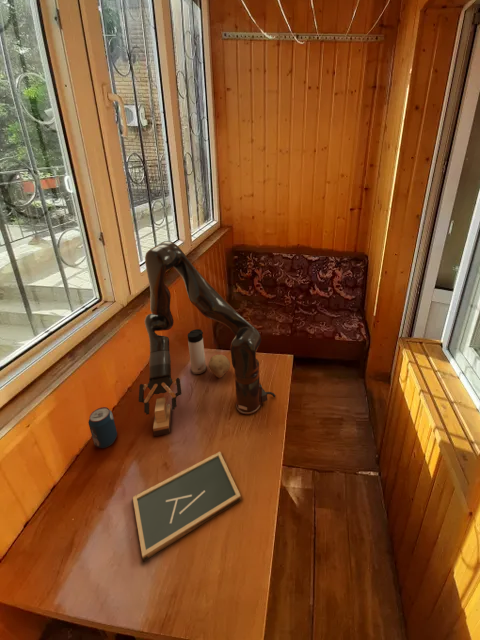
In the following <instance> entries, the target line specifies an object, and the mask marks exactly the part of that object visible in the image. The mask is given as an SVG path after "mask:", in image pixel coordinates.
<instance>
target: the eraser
mask: <svg viewBox="0 0 480 640" xmlns="http://www.w3.org/2000/svg"><path fill="white" fill-rule="evenodd" d="M154 406H155V407H154V418H153V419H154V420H153V425H152V430H153V437H158V436H164V435H168V434H170V433H171V423H172V422H171V420H172V404H171V403H168V404H167V400H166V397H165V396H164V397H159V398H156V399H155V405H154Z"/></svg>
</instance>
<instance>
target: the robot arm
mask: <svg viewBox="0 0 480 640" xmlns="http://www.w3.org/2000/svg"><path fill="white" fill-rule="evenodd" d="M144 263H145V269H146V274H147V280H148V284H149V291H150V299H149V300H150V302H149V306H150V307H149V309H150V312H151V313H148V314H147V315H146V316H145V318H144V326H145V329H146V333H147V336H148V341H149V356H148V357H149V359H148V382H147V383H145V384H143V383H140V384H139V387H138V388H139V389H138V402H139V403H142V404H143V412H144V414H145V415H146V416H147V415H150V401H151V399H152V398H153V397H154V395H156V396H157V395H160V394H166V393H168V394H169V395H170V397H171V411H173V410H175V408H177V398H178V397H179V396H181V395H182V385H181V378H179V377H176V378H173V379H172V360H171V353H170V352H171V351H170V350H171V349H170V338H169V337H168V336H167V335H159V334H157V333H156V332H162V331H163V332H164V331H169V330H171V329H172V328H173V326H174V323H175V322H174V317H173V314H172V311H171V300H172V299H171V298H172V297H171V291H170V289H169V287H168V286H167V285H166V283H165V277H166V273H167V272H168V271H170V270H171V269H172V268H173V269H174V270H176V272H177V273H178V274H179V275H180V277H181V278H182V281H183V282H184V286H185V290H186V294H187V296H188V300H189V301H190V303H191V304H192V305H193V306H194V308H196V310H197V311H198V312H199V313H200V314H201V315H202V316H203V317H205V318H208V319H210V320H213V321H216V322H218V323H220V324H223V325H224V326H226V327H227V328H228V329H229V330H230V331H231V332H232V334H234V338H233V339H232V341H231V343H230V357H231V366H232V367H233V371H234V386H235V387H234V388H235V406H236V410H237V411H238V413H240V414H242V415H252V414H255V413H257V412H258V411H259V409H260V407H262V406H263V403H264V402H267V401H268V395H270V396H272V397H273V398H276V394H275V393H274V392H272V391H266V390H265V389H264V388H263V386H262V384H261V380H260V379H261V378H260V377H261V375H260V362H259V360H258V358H257V351H258V348H259V347H260V345H261V342H262V335H261V333H260V332H259V330H258V329H257V328H256V327H255V326H254V325H253V324H252V323H250V322H249V321H248V320H247V319H246V318H244V317H243V316H242V315H241V314H240V313H239V312H237V310H236V309H235V308H234V307H233V306H232V305H231V304H230V303H229V302H228V301H227V299H225V298H224V296H222V294H221V293H219V291H218V290H216V288H215V287H214V286H213V285H212V284H211V283H210V282H209V281H208V280H207V279H206V278H205V277H204V276H203V275H202V274H201V272H199V270H198V269H197V268H196V266H195V265H194V264H193V263H192V261H190V259H189V258H188V256H187V255H186V254H185V253H184V252H183V250H182V249H181V248H180V247H179V246H178V245H177V244H176V243H174V242H173V241H171V240H164V241H162V242H160V243H158V244H157V245H155V246H153V247H152V248H150V249H148V250H147V251H146V253H145V256H144ZM172 384H173V385H175V386H176V393H175V391H173V390H172V388H171V386H172ZM147 388H148V389H149V390H150V391H149V392H148V394H147V396H146V397H145V391H147Z"/></svg>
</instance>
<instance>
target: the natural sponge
mask: <svg viewBox="0 0 480 640" xmlns="http://www.w3.org/2000/svg"><path fill="white" fill-rule="evenodd" d="M230 368H231V361H230V359H228V357H227V356H225V355H224V354H215V355H213V356H212V357H211V358H210V359H209V361H208V369H209V370H210V372H211V373H212V375H214V376H215V377H216V378H223V377H224V375H225V374H226V373H227V372H228V371H229V370H230Z"/></svg>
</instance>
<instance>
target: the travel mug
mask: <svg viewBox="0 0 480 640" xmlns="http://www.w3.org/2000/svg"><path fill="white" fill-rule="evenodd" d="M203 335H204V331H203V330H202V329H199V328H196V329H192V330H190V331H189V333H187V344H188V352H189V361H190V369H191V373H192V374H193V375H201V374H203V373H204V372H205V371H206V370H207V365H206V355H205V346H204V336H203Z"/></svg>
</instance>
